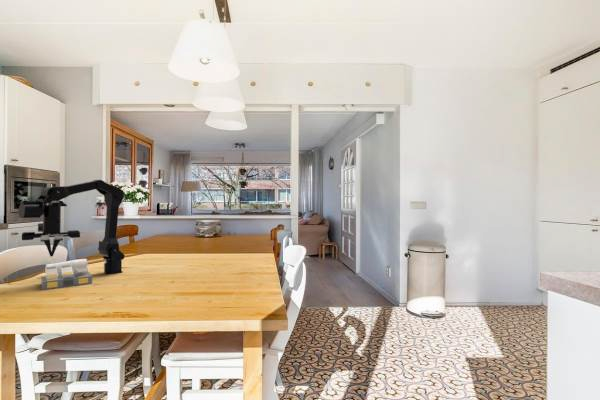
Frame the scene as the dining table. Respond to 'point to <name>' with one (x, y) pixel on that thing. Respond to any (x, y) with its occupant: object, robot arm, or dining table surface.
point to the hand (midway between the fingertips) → (51, 256)
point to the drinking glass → (73, 263)
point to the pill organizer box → (66, 280)
